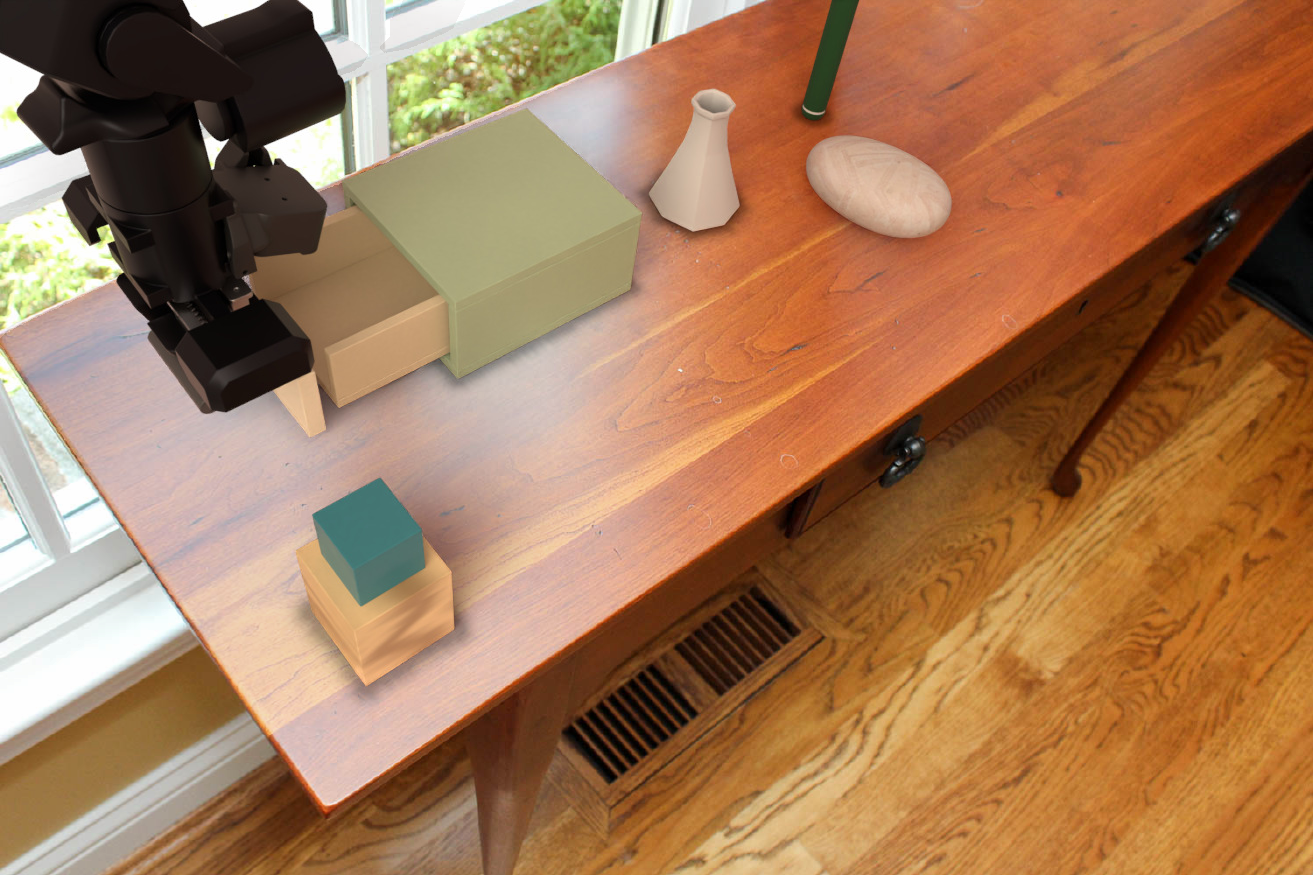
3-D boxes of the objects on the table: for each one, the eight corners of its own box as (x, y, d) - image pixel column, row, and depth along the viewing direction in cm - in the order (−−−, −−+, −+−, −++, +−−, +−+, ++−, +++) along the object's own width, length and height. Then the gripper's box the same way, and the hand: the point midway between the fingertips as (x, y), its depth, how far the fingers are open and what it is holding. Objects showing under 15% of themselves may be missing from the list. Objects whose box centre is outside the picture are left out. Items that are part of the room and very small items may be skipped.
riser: (365, 687, 61) (353, 631, 55) (311, 610, 63) (294, 550, 58) (454, 629, 64) (452, 571, 58) (399, 558, 66) (391, 496, 60)
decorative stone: (777, 198, 91) (791, 150, 87) (832, 150, 96) (847, 104, 92) (906, 274, 87) (926, 228, 83) (956, 221, 92) (978, 176, 88)
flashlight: (779, 97, 99) (835, -120, 83) (830, 97, 100) (896, -117, 84) (792, 132, 96) (853, -86, 81) (845, 132, 97) (916, -83, 82)
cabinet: (457, 379, 75) (455, 302, 69) (352, 262, 80) (341, 180, 74) (630, 289, 82) (642, 212, 76) (523, 187, 87) (526, 107, 81)
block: (360, 607, 56) (353, 569, 53) (320, 553, 58) (311, 514, 54) (425, 567, 58) (422, 529, 55) (385, 516, 59) (380, 476, 56)
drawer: (234, 476, 67) (215, 419, 62) (142, 350, 72) (118, 287, 67) (496, 343, 76) (497, 284, 71) (398, 238, 81) (393, 177, 76)
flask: (632, 194, 89) (647, 92, 81) (695, 163, 92) (714, 62, 84) (691, 245, 86) (713, 144, 78) (754, 210, 89) (780, 110, 81)
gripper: (386, 225, 56) (404, 408, 68) (214, 41, 63) (258, 237, 76) (181, 311, 51) (241, 493, 63) (19, 100, 58) (101, 300, 71)
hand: (214, 370), depth 68 cm, fingers closed
